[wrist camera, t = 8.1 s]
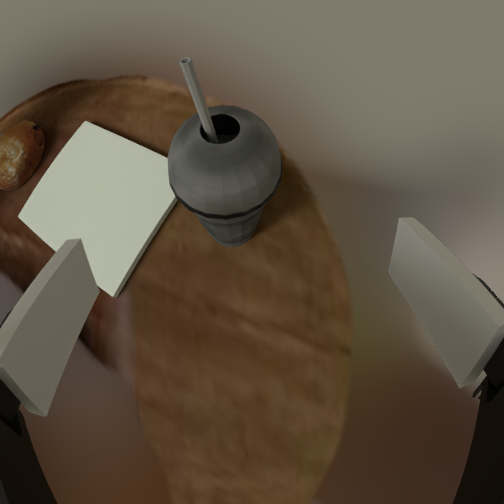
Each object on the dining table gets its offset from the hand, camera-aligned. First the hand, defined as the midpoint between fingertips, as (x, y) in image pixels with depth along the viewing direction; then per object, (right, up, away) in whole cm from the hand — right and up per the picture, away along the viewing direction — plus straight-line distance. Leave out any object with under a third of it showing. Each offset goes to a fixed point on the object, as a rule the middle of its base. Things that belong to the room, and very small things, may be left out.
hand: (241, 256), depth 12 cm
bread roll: (-33, +13, +20) cm, 41 cm away
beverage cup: (-2, +3, +18) cm, 18 cm away
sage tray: (-17, +6, +18) cm, 26 cm away
